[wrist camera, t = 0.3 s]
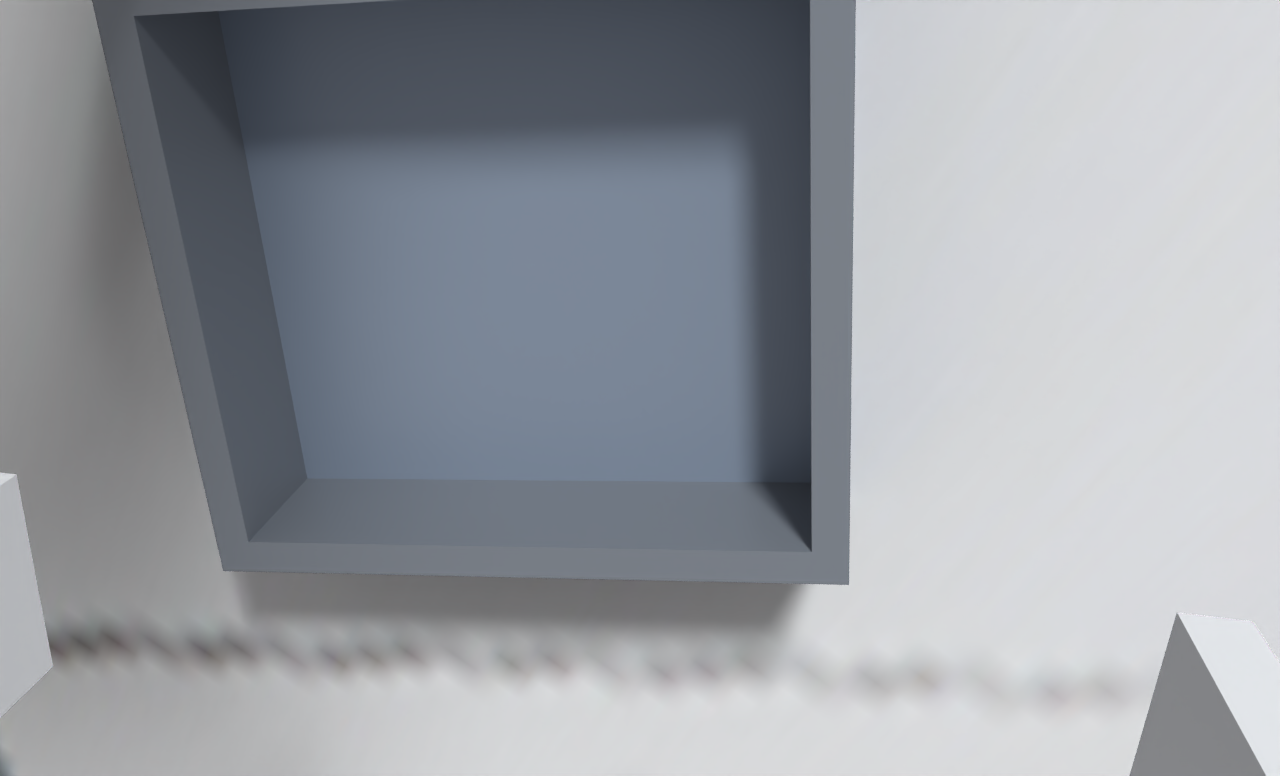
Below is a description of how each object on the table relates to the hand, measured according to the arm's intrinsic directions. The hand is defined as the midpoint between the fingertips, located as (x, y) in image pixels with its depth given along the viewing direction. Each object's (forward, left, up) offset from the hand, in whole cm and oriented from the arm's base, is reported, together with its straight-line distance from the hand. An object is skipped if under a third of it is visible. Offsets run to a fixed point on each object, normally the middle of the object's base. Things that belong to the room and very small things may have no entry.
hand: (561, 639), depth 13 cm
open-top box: (+2, -7, -27) cm, 28 cm away
